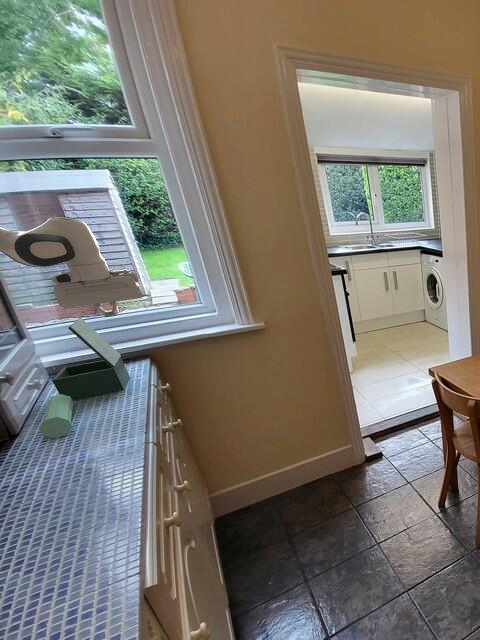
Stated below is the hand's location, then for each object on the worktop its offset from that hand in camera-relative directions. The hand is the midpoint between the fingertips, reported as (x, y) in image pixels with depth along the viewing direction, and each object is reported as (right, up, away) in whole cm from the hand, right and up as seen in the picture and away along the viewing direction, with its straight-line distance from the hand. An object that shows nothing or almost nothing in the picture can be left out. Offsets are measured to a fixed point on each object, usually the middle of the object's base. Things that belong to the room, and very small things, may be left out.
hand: (111, 316), depth 134 cm
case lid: (-5, -9, 0) cm, 10 cm away
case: (-8, -24, +4) cm, 26 cm away
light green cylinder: (+2, -33, -16) cm, 37 cm away
